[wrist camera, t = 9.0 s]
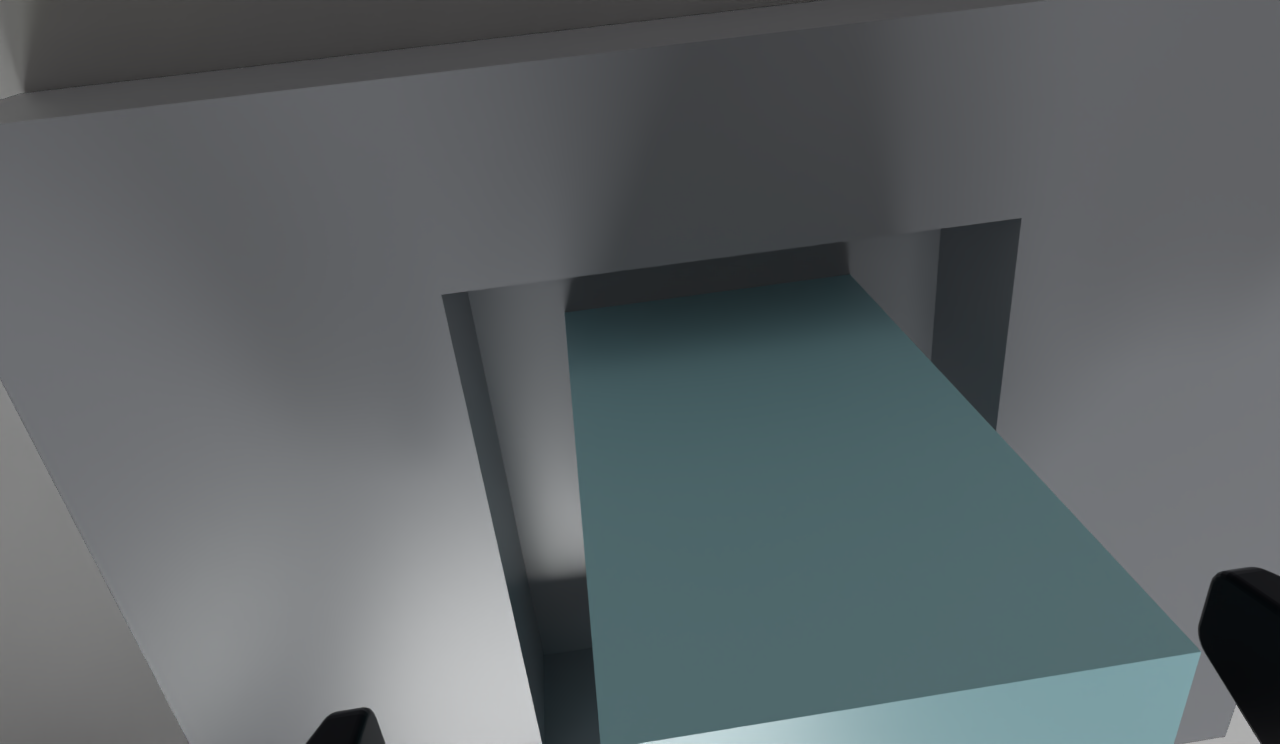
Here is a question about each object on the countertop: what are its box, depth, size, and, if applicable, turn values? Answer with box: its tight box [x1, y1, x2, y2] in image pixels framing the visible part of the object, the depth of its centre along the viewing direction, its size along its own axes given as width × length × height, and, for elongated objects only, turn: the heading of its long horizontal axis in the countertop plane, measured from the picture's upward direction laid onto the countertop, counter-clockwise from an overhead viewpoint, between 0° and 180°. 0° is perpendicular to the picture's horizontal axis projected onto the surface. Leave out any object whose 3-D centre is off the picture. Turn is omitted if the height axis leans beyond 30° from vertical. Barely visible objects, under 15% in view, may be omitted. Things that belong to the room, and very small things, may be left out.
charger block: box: [564, 274, 1201, 744], centre depth 10 cm, size 4×5×7 cm
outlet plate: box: [0, 0, 1280, 744], centre depth 12 cm, size 16×12×4 cm
